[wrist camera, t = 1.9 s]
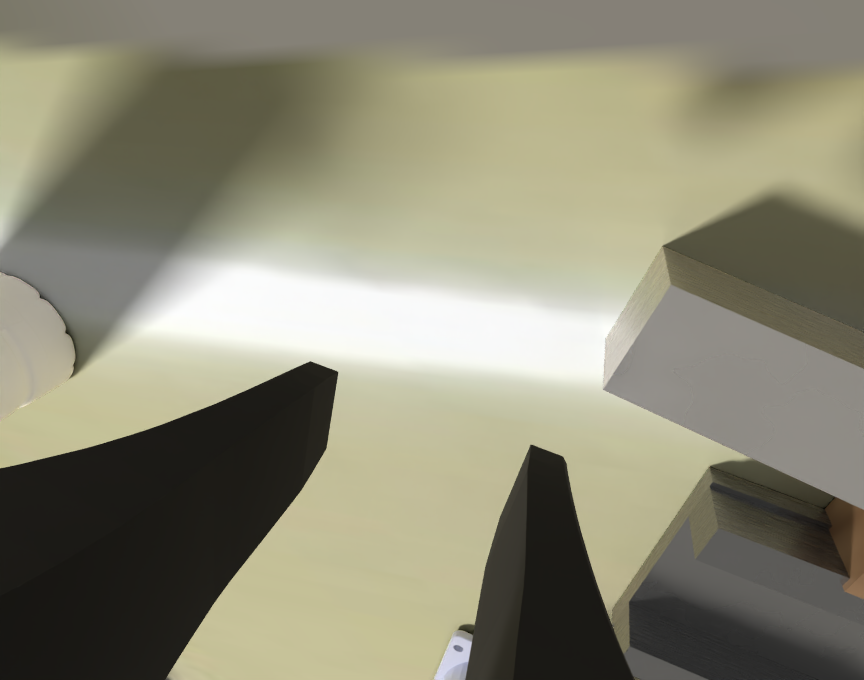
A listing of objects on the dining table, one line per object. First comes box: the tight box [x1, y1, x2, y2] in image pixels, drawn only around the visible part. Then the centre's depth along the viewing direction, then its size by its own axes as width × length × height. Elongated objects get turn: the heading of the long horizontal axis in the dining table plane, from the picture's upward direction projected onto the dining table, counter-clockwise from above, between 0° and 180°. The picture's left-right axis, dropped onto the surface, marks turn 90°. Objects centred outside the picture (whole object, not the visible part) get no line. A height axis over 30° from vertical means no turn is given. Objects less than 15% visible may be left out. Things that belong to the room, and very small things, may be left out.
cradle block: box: [612, 467, 864, 680], centre depth 20 cm, size 9×10×3 cm
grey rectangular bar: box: [603, 246, 864, 510], centre depth 16 cm, size 4×13×4 cm, turn 71°
